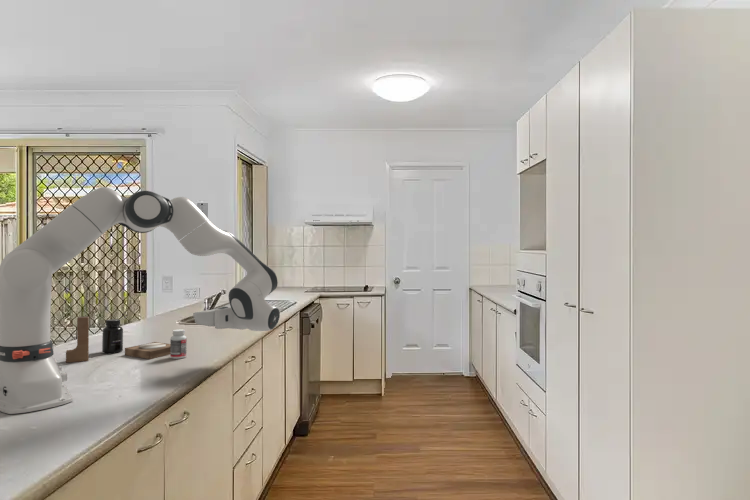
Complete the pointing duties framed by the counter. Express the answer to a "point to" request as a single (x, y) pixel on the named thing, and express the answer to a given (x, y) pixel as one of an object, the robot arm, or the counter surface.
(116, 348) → the supplement bottle
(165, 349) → the walnut base
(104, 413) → the counter surface
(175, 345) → the pill bottle
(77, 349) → the wooden block
